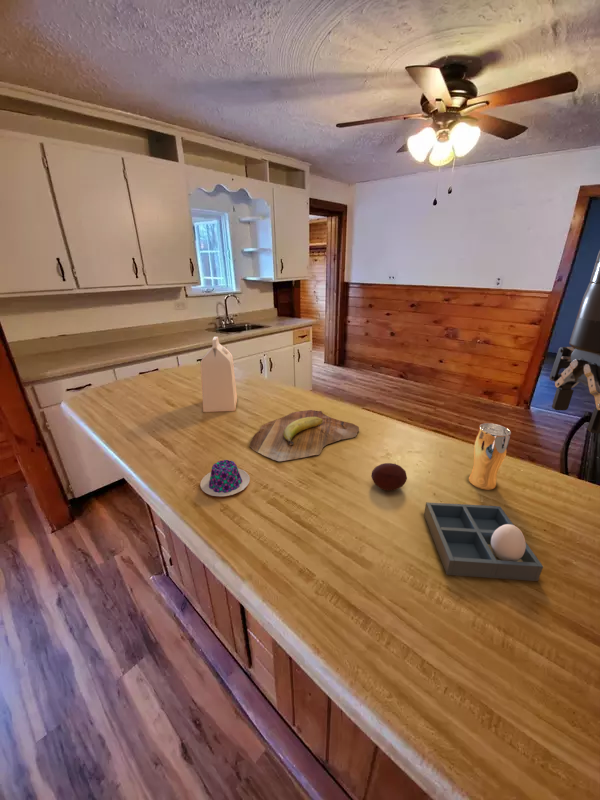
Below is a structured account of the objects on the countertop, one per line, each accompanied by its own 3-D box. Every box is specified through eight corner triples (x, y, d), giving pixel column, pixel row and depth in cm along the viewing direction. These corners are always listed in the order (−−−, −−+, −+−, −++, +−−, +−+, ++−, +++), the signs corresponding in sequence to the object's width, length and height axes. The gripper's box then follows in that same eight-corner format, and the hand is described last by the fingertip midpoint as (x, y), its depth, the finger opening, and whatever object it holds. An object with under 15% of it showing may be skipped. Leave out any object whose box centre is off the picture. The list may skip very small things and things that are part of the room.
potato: (403, 500, 78) (407, 478, 76) (368, 492, 81) (370, 471, 78) (406, 482, 84) (409, 461, 82) (373, 475, 87) (375, 455, 85)
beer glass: (503, 484, 84) (517, 431, 78) (488, 494, 80) (502, 439, 74) (476, 471, 89) (488, 420, 83) (461, 480, 85) (472, 427, 80)
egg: (527, 566, 60) (538, 534, 57) (503, 573, 59) (514, 541, 56) (503, 544, 65) (512, 514, 62) (480, 550, 63) (489, 519, 61)
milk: (208, 399, 135) (201, 335, 125) (237, 398, 136) (232, 334, 126) (203, 411, 124) (195, 342, 114) (235, 410, 125) (230, 341, 115)
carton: (496, 519, 72) (500, 506, 71) (538, 581, 58) (543, 566, 57) (423, 514, 73) (426, 502, 72) (446, 574, 59) (450, 560, 58)
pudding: (190, 491, 80) (187, 473, 78) (219, 466, 91) (217, 449, 89) (233, 504, 76) (231, 485, 74) (258, 475, 87) (257, 458, 85)
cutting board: (308, 407, 129) (308, 397, 127) (368, 430, 111) (369, 419, 109) (232, 438, 105) (231, 427, 104) (293, 473, 88) (293, 460, 86)
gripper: (689, 325, 41) (639, 442, 47) (601, 310, 54) (571, 403, 60) (623, 324, 41) (582, 440, 47) (552, 310, 54) (527, 402, 60)
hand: (576, 420), depth 54 cm, fingers open, 8 cm apart
